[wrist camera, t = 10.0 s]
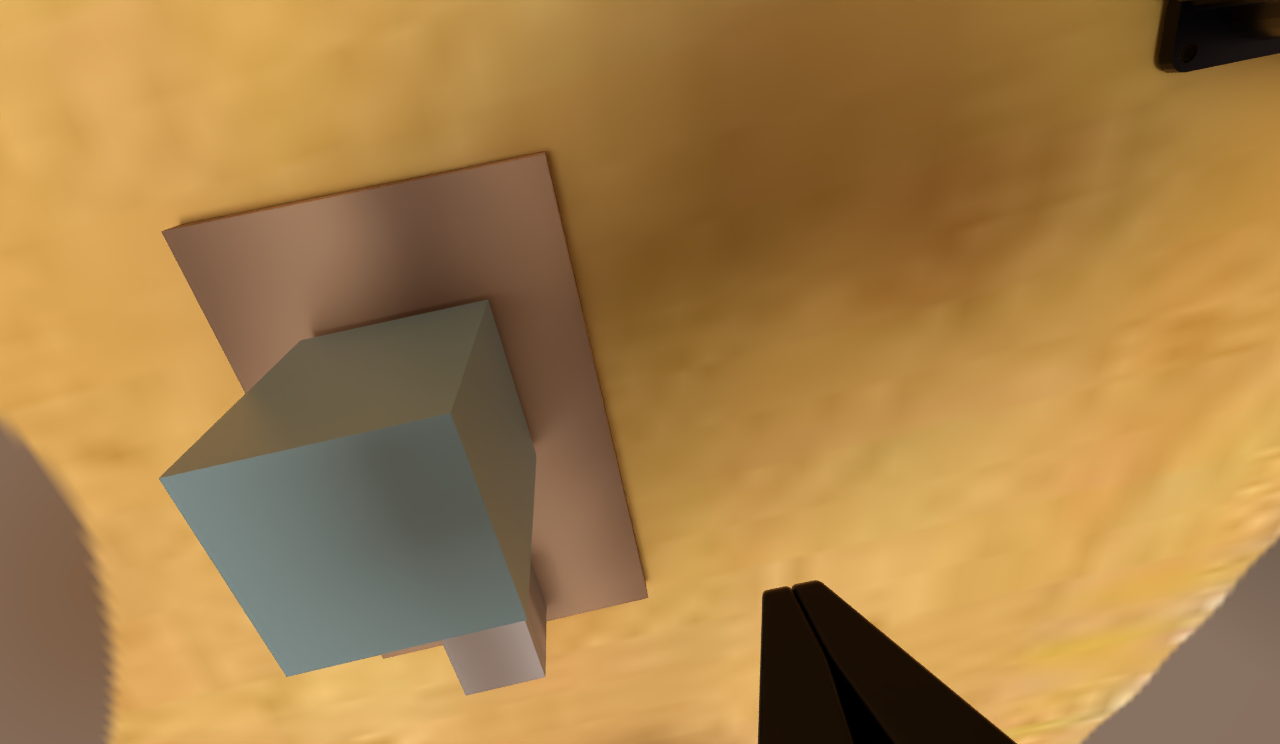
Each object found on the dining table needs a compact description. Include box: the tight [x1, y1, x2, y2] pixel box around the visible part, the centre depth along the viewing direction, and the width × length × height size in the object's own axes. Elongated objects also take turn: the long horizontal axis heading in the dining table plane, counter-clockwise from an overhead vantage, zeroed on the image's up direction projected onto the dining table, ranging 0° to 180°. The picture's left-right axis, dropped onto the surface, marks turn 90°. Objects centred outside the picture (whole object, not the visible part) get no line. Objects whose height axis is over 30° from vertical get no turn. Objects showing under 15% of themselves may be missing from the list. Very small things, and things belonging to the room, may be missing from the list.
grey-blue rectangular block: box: [159, 300, 536, 677], centre depth 15 cm, size 5×5×7 cm
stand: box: [162, 152, 648, 695], centre depth 17 cm, size 10×16×7 cm, turn 10°
